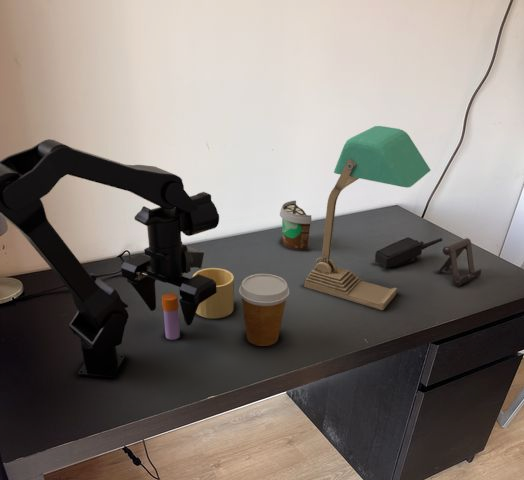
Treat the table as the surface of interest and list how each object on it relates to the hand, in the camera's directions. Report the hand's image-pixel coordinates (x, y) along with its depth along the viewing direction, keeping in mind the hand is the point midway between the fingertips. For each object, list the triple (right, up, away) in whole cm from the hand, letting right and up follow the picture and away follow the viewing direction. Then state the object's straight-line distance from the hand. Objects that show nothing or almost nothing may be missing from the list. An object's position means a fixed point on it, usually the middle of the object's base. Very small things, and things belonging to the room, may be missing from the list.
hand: (170, 317), depth 102 cm
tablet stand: (+66, +12, +28) cm, 72 cm away
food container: (+25, +22, +41) cm, 53 cm away
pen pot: (+7, +3, +12) cm, 14 cm away
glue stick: (0, -4, +3) cm, 4 cm away
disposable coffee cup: (+18, -4, +3) cm, 18 cm away
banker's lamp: (+39, +7, +20) cm, 44 cm away
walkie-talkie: (+56, +17, +36) cm, 68 cm away
